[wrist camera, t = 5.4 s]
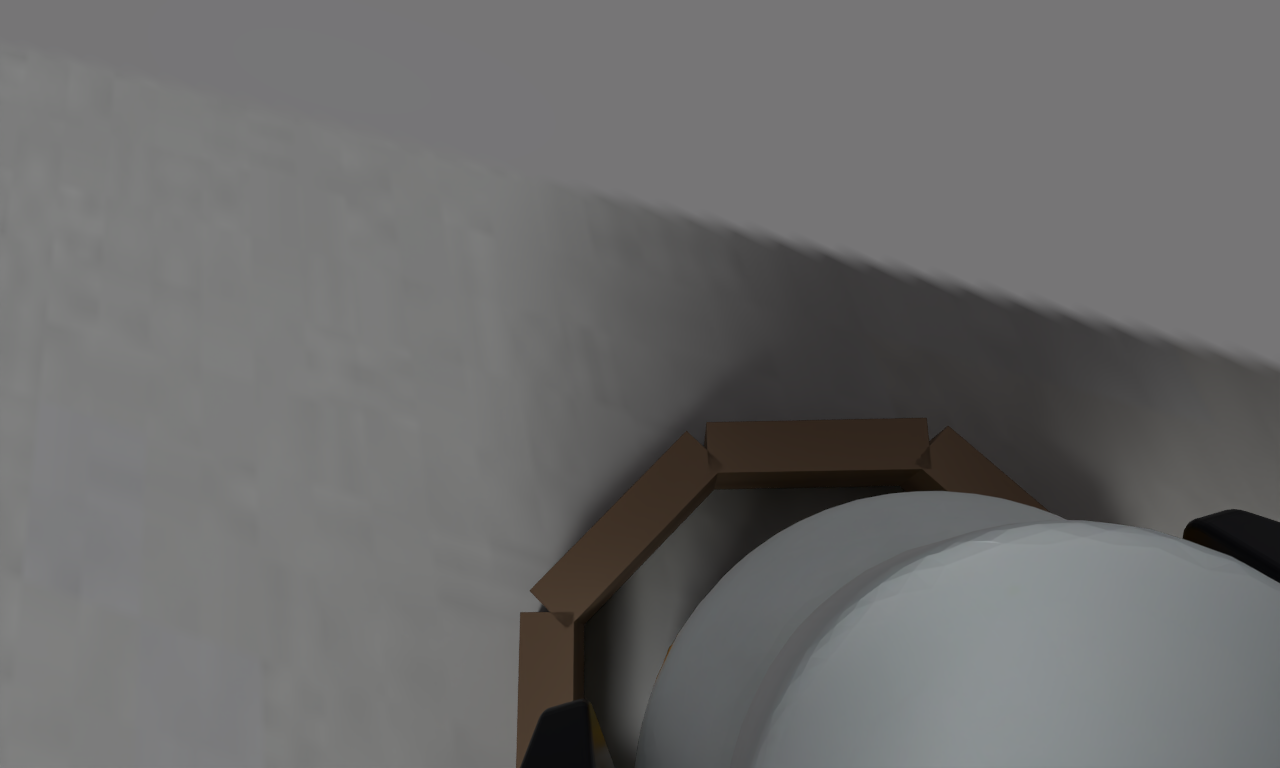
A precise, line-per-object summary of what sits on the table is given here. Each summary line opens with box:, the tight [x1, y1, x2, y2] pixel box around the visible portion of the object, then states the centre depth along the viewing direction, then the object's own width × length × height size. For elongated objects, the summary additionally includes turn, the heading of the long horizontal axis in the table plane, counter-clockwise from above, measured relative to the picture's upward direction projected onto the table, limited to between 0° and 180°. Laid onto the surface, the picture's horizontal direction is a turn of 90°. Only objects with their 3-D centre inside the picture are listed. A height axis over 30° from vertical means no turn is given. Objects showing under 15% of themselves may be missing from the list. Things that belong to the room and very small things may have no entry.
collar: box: [516, 418, 1050, 768], centre depth 13 cm, size 9×9×2 cm
